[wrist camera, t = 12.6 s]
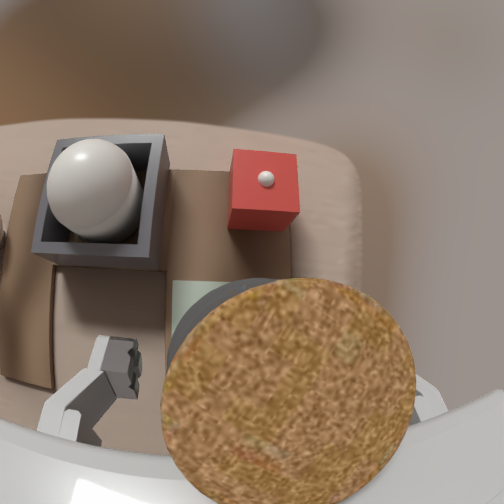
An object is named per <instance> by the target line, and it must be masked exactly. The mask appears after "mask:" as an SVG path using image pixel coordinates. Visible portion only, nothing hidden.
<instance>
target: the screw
mask: <svg viewBox="0 0 504 504" xmlns="http://www.w3.org/2000/svg"><path fill="white" fill-rule="evenodd" d="M3 241H4V230H3V229H2V219H1V215H0V249H1V248H2V247H3Z"/></svg>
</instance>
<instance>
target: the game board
mask: <svg viewBox="0 0 504 504" xmlns="http://www.w3.org/2000/svg"><path fill="white" fill-rule="evenodd" d="M135 173H136V175H137V178H138V180H139V182H140V184H141V187H142V189H143V192H144V187H145V180H146V174H147V172H135ZM229 173H230V172H224V171H201V170H169V174H168V182H167V191H166V200H165V209H164V220H163V231H162V244H161V259H160V270H157V269H133V268H112V267H92V266H74V265H58V264H56V263H53V262H51V261H49V260H47V259H44V258H42V257H40V256H38V255H35V254H33V253H31V248H32V242H33V235H34V230H35V224H36V219H37V214H38V209H39V204H40V200H41V195H42V191H43V187H44V183H45V179H46V176H47V173H45V174H33V175H23V176H20V180H19V183H18V187H17V191H16V194H15V198H14V202H13V207H12V211H11V216H10V221H9V226H8V231H7V237H6V242H5V249H4V256H3V264H2V273H1V283H0V373H1V375H3V376H6V377H9V378H13V379H16V380H19V381H23V382H27V383H30V384H34V385H38V386H42V387H46V388H50V389H53V388H55V387H54V374H53V354H52V313H53V292H54V279H55V268H56V266H73V267H90V268H109V269H130V270H153V271H167V283H166V316H165V365H166V370H167V354H168V349H169V345H170V342H171V339H172V336H173V333H174V331H175V329H176V327H177V325H178V323H179V322H180V320H181V318H182V317H183V315H184V314H185V313H186V312H187V311H188V309H189V308H190V307H191V306H192V305H194V304H195V303H196V302H197V301H198V300H199V299H200V298H202V297H203V296H204V295H206V294H207V293H208V292H210V291H212V290H214V289H216V288H218V287H220V286H222V285H225V284H228V283H230V282H233V281H237V280H243V279H250V278H268V279H291V246H290V224H289V226H288V227H287V228H286V229H285V230H284V231H283V232H282V231H261V230H239V229H227V215H228V182H229ZM139 227H140V224H139V226H138V228H137V229H136V230H135V232H134V233H133V234H132V235H131V236H130V237H128V238H127V239H126V240H124V241H123V242H121V243H119V244H136V245H138V236H139ZM69 242H72V243H88V242H86V241H85V240H83V239H82V238H80V237H79V236H78V235H76V234H75V233H74V232H72V231H71V230H70V235H69Z"/></svg>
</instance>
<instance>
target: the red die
mask: <svg viewBox="0 0 504 504" xmlns="http://www.w3.org/2000/svg"><path fill="white" fill-rule="evenodd" d="M299 213H300V204H299V188H298V173H297V159H296V155H295V154H286V153H276V152H266V151H254V150H241V149H234V151H233V156H232V162H231V167H230V173H229V182H228V215H227V229H239V230H261V231H282V232H283V231H284V230H285V229H286V228H287V227H288V226H289V224H290V223H291V222H292V221H293V220H294V219H295V217H296V216H297V215H298V214H299Z"/></svg>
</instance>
